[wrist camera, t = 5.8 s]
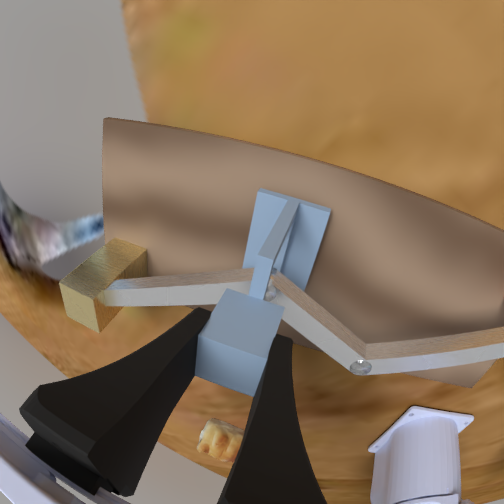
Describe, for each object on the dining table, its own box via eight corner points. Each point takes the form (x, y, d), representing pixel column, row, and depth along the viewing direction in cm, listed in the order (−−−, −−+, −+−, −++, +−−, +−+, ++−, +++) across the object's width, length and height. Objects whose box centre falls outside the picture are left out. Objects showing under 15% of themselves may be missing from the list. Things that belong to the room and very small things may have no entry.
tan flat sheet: (470, 383, 21) (471, 388, 20) (111, 271, 26) (108, 274, 25) (558, 259, 14) (561, 262, 14) (108, 117, 19) (103, 118, 18)
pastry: (285, 440, 32) (277, 468, 29) (268, 457, 36) (260, 481, 33) (208, 412, 33) (196, 438, 30) (201, 432, 37) (190, 455, 34)
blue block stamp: (331, 206, 17) (308, 326, 9) (302, 295, 20) (263, 424, 12) (260, 186, 18) (178, 282, 10) (242, 276, 21) (175, 392, 13)
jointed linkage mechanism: (525, 326, 17) (552, 391, 11) (119, 276, 25) (70, 323, 20) (553, 263, 14) (596, 323, 9) (104, 215, 22) (44, 256, 17)
